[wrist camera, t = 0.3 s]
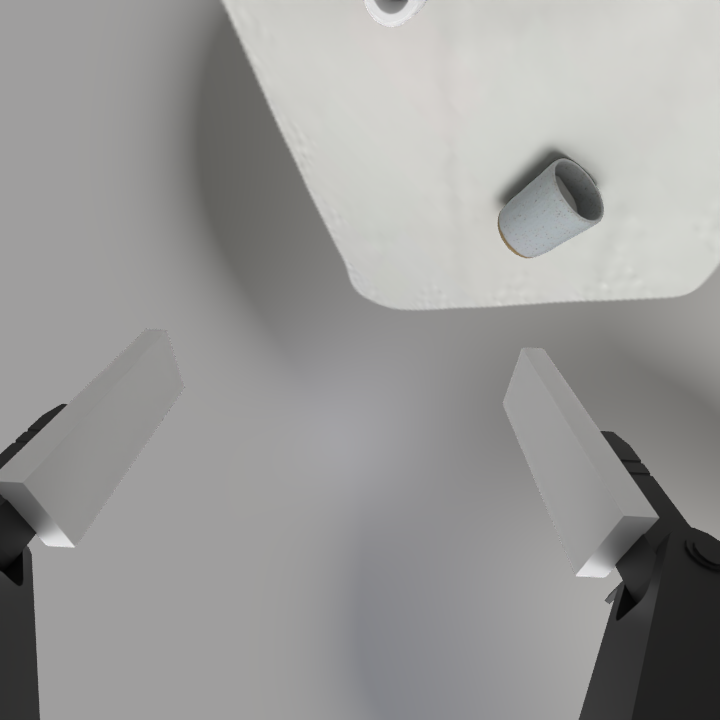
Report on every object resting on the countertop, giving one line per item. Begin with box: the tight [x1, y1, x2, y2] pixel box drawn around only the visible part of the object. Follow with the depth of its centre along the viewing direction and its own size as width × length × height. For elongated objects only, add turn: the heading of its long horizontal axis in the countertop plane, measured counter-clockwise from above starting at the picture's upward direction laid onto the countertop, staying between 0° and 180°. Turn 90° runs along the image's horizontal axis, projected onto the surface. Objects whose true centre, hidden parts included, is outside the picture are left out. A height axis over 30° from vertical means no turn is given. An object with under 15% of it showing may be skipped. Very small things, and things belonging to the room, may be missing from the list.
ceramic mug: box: [498, 158, 604, 258], centre depth 40 cm, size 11×8×8 cm
